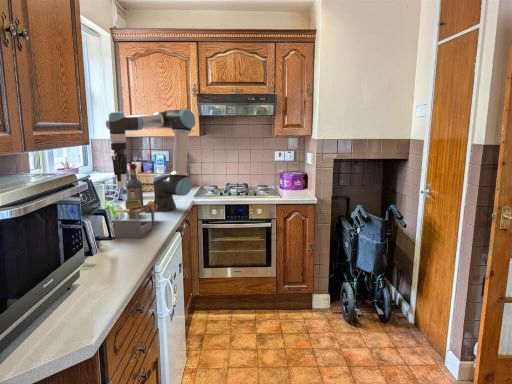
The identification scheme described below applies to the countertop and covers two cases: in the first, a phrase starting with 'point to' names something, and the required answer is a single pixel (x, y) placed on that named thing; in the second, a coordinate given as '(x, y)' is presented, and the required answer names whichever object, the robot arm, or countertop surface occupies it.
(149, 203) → the ball
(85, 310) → the countertop surface
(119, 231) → the bin
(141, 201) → the liquor
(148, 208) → the wooden chute
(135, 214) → the stand
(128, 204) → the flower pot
